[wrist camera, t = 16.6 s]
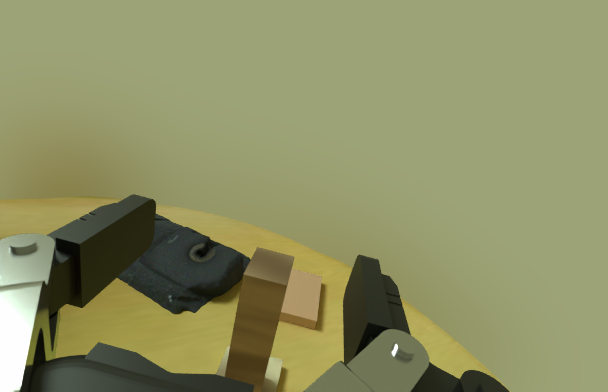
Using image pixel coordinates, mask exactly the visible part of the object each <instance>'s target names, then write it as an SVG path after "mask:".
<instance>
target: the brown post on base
mask: <svg viewBox="0 0 608 392" xmlns="http://www.w3.org/2000/svg"><path fill="white" fill-rule="evenodd" d="M293 261H294V257H293V256H289V255H286V254H282V253H278V252H274V251H270V250H266V249H262V248H258V247H257V249H256V251H255V253H254V255H253V257H252V259H251V261H250V263H249V265H248V266H247V268H246V270H245V272H244V274H243V280H242V285H241V290H240V296H239V301H238V307H237V312H236V317H235V323H234V328H233V334H232V339H231V344H230V346H228V347H227V350H226V352H225V354H224V357H223V359H222V361H221V364H220V366H219V368H218V371H217V373H216V375H220V376H224V377H227V378H231V379H235V380H238V381H242V382H245V383H249V384H253V385H254V389H253V392H276V391H277V386H278V381H279V376H280V371H281V367H282V362H283V360H281V359H277V358H274V357H270V354H271V350H272V346H273V342H274V338H275V334H276V330H277V326H278V322H279V318H280V314H281V310H282V306H283V302H284V297H285V293H286V289H287V285H288V281H289V277H290V273H291V269H292V265H293Z"/></svg>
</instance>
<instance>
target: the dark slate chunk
mask: <svg viewBox="0 0 608 392" xmlns="http://www.w3.org/2000/svg"><path fill="white" fill-rule="evenodd" d="M250 261H251V260H250V258H249V257H246V256H245V255H243V254H242V253H240V252H238V251H236V250H234V249H232V248H230V247H226V246H224V245H222V244H220V243H217V242H215V241H213V240H211V239H210V238H209V237H207V236H205V235H202V234H200V233H199V232H197V231H195V230H193V229H190V228H188V227H183V226H181V225H178V224H176V223H173V222H171V221H170V220H168V219H166V218H164V217H163V216H160V215H158V214H155V229H154V238H153V241H152V244H151V246H150V247H149V249H148V250H147V251H146V252H145V253H144V254H143V255H141V256H140V257H139V258H138V259H137V260H136V261H135V262H134V263H132V264H131V265H130V266H129V267H128V268H127V269H126V270H125V271H123V272H122V273H121V274H120V275H119V276H118V277H117V278H119V279H120V280H122V281H123V282H125V283H128V285H129V286H131V287H133V288H134V289H136V290H137V291H139V292H141V293H143V294H144V295H145V296H147V297H149V298H150V299H152V300H153V301H154V302H156V303H158V304H159V305H161V306H162V307H163V308H165V309H167V310H169V311H170V312H171V313H173V314H175V313H180V312H181V311H182V310H185V311H191V312H193V313H195V312H197V311H198V310H199V309H200V308H201V307H202V306H203V305H205V304H206V303H207V302H209V301H210V300H211V299H212V298H214V297H217V296H220V295H223V294H224V293H226V292H227V291H228V290H230V289H231V288H232V287H233V286H234V285H235V284H237V283H238V282H239V281H240V280H241V278H242V276H243V274H244V272H245V270H246V268H247V266H248V265H249V263H250Z"/></svg>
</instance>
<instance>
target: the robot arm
mask: <svg viewBox="0 0 608 392" xmlns="http://www.w3.org/2000/svg"><path fill="white" fill-rule="evenodd" d="M155 214H156V203H155V201H154V200H153V199H150V198H146V197H142V196H138V195H131V196H129V197H127V198H125V199H124V200H122V201H120V202H118V203H113V204H109V205H105V206H101V207H99V208H97V209H95V210H93V211H91V212H90V213H89V214H86V215H84V216H82V217H80V218H79V220H78V219H76V220H74V221H73V222H71V223H69V224H67V225H65V226H63V227H61V228H59V229H58V230H56V231H54V232H52V233H50V234H48V235H43V234H20V235H14V236H10V237H7V238H4V239H1V240H0V392H253V389H254V385H253V384H249V383H245V382H242V381H238V380H235V379H231V378H227V377H224V376H220V375H216V374H179V373H170V372H168V371H166V370H164V369H163V368H161V367H159V366H158V365H156V364H154V363H153V362H151V361H149V360H148V359H146V358H145V357H143V356H141V355H140V354H138V353H136V352H132V351H129V350H125V349H121V348H118V347H114V346H110V345H107V344H103V343H99V342H98V343H97V345H96V346H95V347H94V348H93V349H92V350H91V351H90V352H89V353H88V354H87V355H76V356H67V357H61V358H56V359H55V355H56V347H57V339H58V331H59V323H60V308H61V307H63V306H64V305H65V304H69V305H73V306H77V307H80V308H83V307H84V306H85V305H86V304H87V303H89V302H90V301H91V300H92V299H93V298H94V297H95V296H96V295H98V294H99V293H100V292H101V291H102V290H103V289H104V288H105V287H107V286H108V285H109V284H110V283H111V282H112V281H113V280H114V279H116V278H117V277H118V276H119V275H120V274H121V273H122V272H123V271H125V270H126V269H127V268H128V267H129V266H130V265H131V264H132V263H134V262H135V261H136V260H137V259H138V258H139V257H140V256H141V255H143V254H144V253H145V252H146V251H147V250H148V249H149V247H150V246H151V244H152V241H153V238H154V229H155ZM343 324H344V363H343V362H342V361H339V362H337V363H336V364H334V365H333V366H332V367H331V368H330V369H329V370H327V371H326V372H325V373H324V374H323V375H322V376H320V377H319V378H318V379H317V380H316V381H315V382H314V383H312V384H311V385H310V386H309V387H308V388H307V389H306V390H304V391H303V392H509V391H508V390H507V389H506V388H505V387H504V386H503V385H502V384H501V383H500V382H498V381H497V380H495V379H494V378H492V377H491V376H489V375H487V374H485V373H483V372H480V371H476V370H468V371H465V372H464V373H463V374H462V376H461V378H460V379H458V378H456V377H455V376H453V375H451V374H449V373H447V372H445V371H443V370H441V369H440V368H438V367H436V366H434V365H433V364H432V363H430V362H429V356H428V354H427V351H426V350H425V348H424V347H423V346H422V344H421V343H420V342H419V341H418V340H416V339H415V338H414V337H412V336H411V334H410V331H409V327H408V323H407V320H406V316H405V313H404V309H403V307H402V302H401V298H400V295H399V291H398V287H397V285H396V284H395V283H394V281H393V280H392V279H391V278H390V276H387V275H383V274H381V270H380V264H379V261H378V259H374V258H370V257H366V256H362V255H358V256H357V259H356V261H355V264H354V267H353V269H352V272H351V275H350V278H349V281H348V284H347V286H346V290H345V294H344V300H343Z"/></svg>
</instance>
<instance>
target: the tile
mask: <svg viewBox="0 0 608 392" xmlns="http://www.w3.org/2000/svg"><path fill="white" fill-rule="evenodd" d="M321 281H322V276H319V275H315V274H311V273H307V272H304V271H300V270H296V269H291V273H290V277H289V281H288V285H287V289H286V293H285V297H284V302H283V306H282V310H281V314H280V318H279V320H281V321H285V322H288V323H292V324H296V325H300V326H303V327H307V328H311V329H314V330H315V326H316V323H317V317H318V308H319V299H320V290H321Z"/></svg>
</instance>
